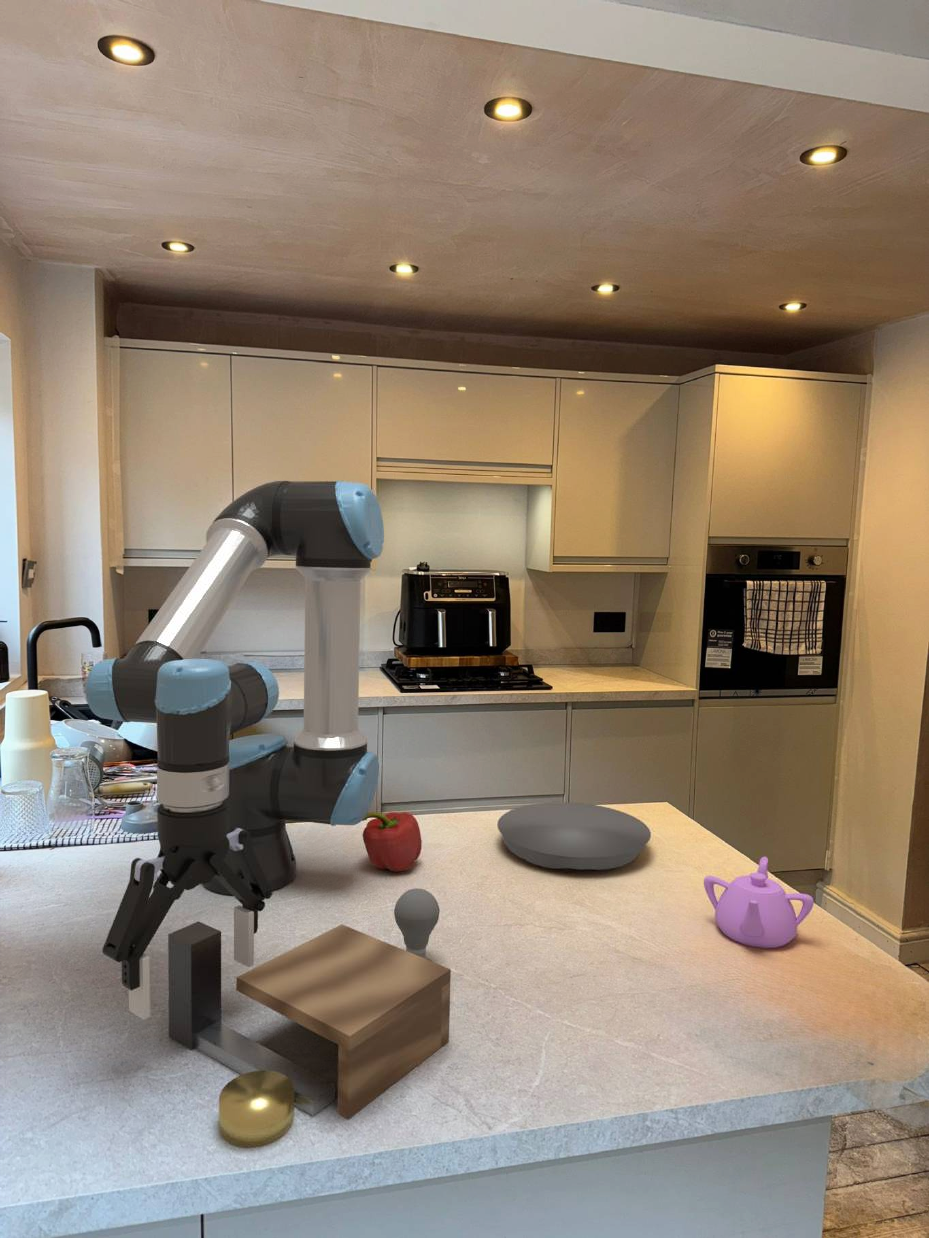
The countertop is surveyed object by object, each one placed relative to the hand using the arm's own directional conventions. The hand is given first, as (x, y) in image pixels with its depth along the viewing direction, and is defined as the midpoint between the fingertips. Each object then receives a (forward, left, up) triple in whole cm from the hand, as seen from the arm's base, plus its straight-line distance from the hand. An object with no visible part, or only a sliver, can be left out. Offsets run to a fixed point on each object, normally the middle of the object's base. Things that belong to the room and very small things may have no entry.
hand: (194, 986), depth 92 cm
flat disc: (+5, +78, -6) cm, 78 cm away
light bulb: (+9, +28, -6) cm, 30 cm away
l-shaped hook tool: (+9, 0, -6) cm, 11 cm away
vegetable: (-15, +50, -6) cm, 53 cm away
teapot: (+42, +66, -6) cm, 78 cm away
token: (+16, -5, -6) cm, 18 cm away
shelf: (+14, +9, -6) cm, 18 cm away
